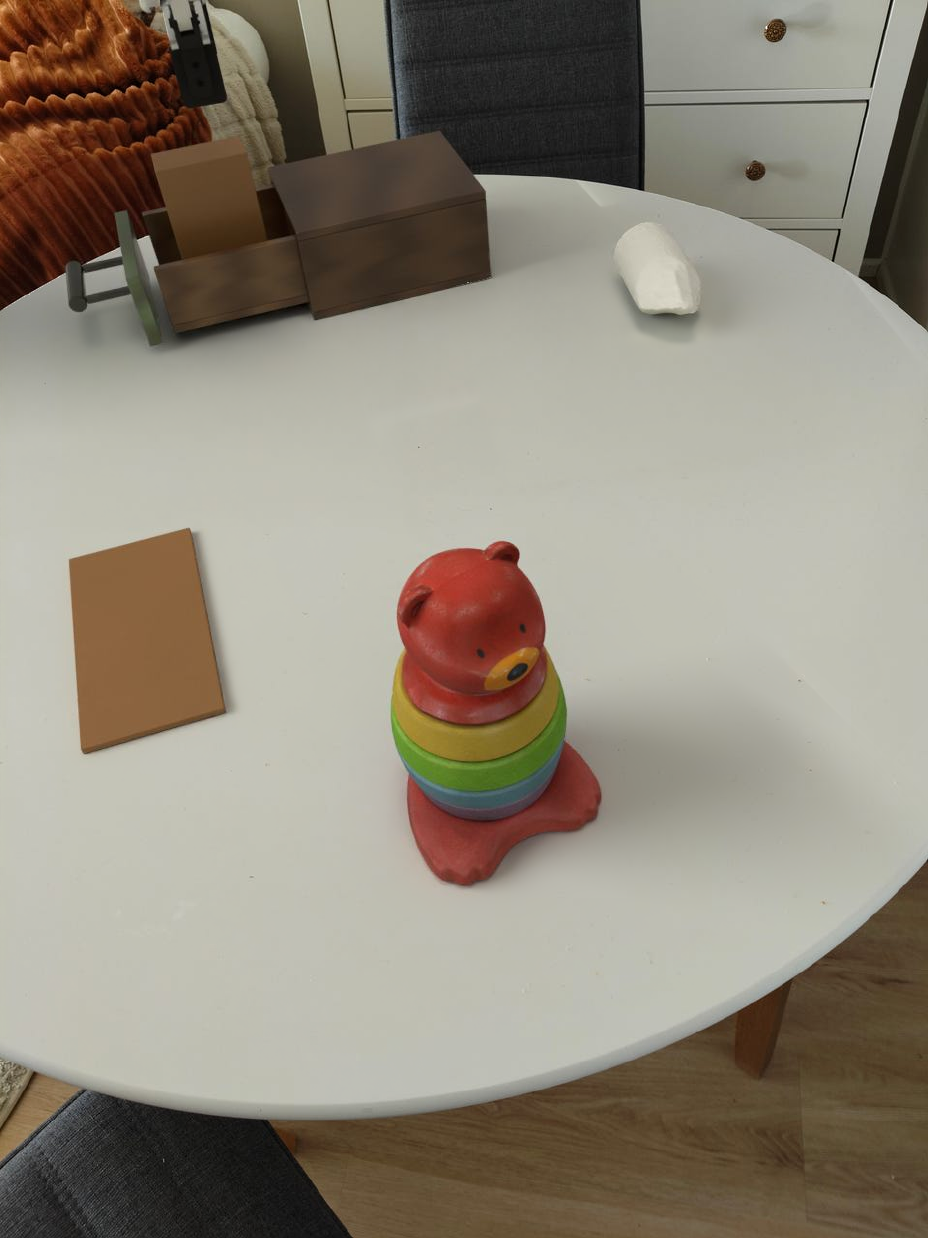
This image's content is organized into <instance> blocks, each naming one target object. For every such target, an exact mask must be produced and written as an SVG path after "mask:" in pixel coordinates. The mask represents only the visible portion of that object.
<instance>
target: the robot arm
mask: <svg viewBox="0 0 928 1238" xmlns="http://www.w3.org/2000/svg"><path fill="white" fill-rule="evenodd" d="M207 2H208V0H138V3H139V6H140V9H141V10H142V11H143V12H144V13H146V14H152V13H153V12H152V8H156V7H157V8H158V7H159V5H160V9H161V12H162V16H163V20H164V24H165V28H166V33H167V37H168V41H169V44H170V46H169V47H167V49H168V52H169V56H170V59H171V63H172V64H171V65H172V67H173V71H174V75H175V78H176V82H177V86H178V90H179V94H180V96H181V101H182V104H183V106H184V107H185V108H186V109H196V108H199V107H200V108H201V107H208V106H212V105H218V104H224V103H225V102H227V100H228V95H227V90H226V86H225V82H224V77H223V74H222V69H221V65H220V60H219V56H218V49H217V45H216V40H215V36H214V31H213V28H212V24H211V20H210V15H209V11H208V7H207Z"/></svg>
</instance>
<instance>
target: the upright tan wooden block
mask: <svg viewBox="0 0 928 1238" xmlns="http://www.w3.org/2000/svg"><path fill="white" fill-rule="evenodd" d="M150 157H151V161H152V165H153V169H154V173H155V177H156V180H157V182H158V186H159V189H160V192H161V195H162V199H163V202H164V206H165V207H166V209H167V212H168V215H169V218H170V222H171V225H172V228H173V231H174V234H175V238H176V241H177V244H178V247H179V251H180V254H181V257H182V260H185V259H189V258H194V257H198V256H202V255H207V254H211V253H216V252H220V251H225V250H229V249H234V248H238V247H243V246H247V245H251V244H256V243H260V242H265V241H268V240H267V235H266V231H265V227H264V223H263V219H262V214H261V210H260V206H259V202H258V198H257V193H256V189H255V188H256V185H255V181H254V177H253V172H252V169H251V165H250V164H251V163H250V161H249V155H248V152H247V149H246V147H245V145H244V143H243V140H242V138H241V136H240V135H235V136H231V137H225V138H221V139H217V140H211V141H206V142H202V143H201V142H200V143H197V144H192V145H188V146H183V147H178V148H173V149H168V150H163V151H159V152H154V153H151V154H150Z"/></svg>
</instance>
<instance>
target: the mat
mask: <svg viewBox="0 0 928 1238" xmlns="http://www.w3.org/2000/svg"><path fill="white" fill-rule="evenodd" d="M68 570H69V571H68V572H69V584H70V600H71V602H70V603H71V616H72V631H73V632H72V633H73V645H74V647H73V648H74V663H75V679H76V695H77V708H78V709H77V710H78V727H79V741H80V742H79V744H80V751H81V753H83V754H84V755H85V754H87V753H92V752H95V751H98V750H102V749H105V748H108V747H109V748H110V747H112V746H115V745H119V744H122V743H126V742H128V741H132V740H136V739H140V738H143V737H145V736H150V735H152V734H156V733H160V732H163V731H166V730H169V729H173V728H177V727H180V726H183V725H184V726H185V725H187V724H190V723H193V722H197V721H201V720H204V719H207V718H211V717H214V716H217V715H221V714H224V713H226V712H227V709H226V705H225V700H224V694H223V689H222V684H221V683H222V682H221V679H220V674H219V669H218V664H217V663H218V662H217V658H216V657H217V656H216V653H215V647H214V643H213V637H212V633H211V627H210V622H209V617H208V616H209V615H208V612H207V606H206V600H205V595H204V591H203V586H202V581H201V575H200V570H199V565H198V560H197V555H196V550H195V544H194V538H193V534H192V530H191V528H190V527H185V528H182V529H178V530H175V531H170V532H166V533H163V534H159V535H155V536H152V537H147V538H144V539H140V540H136V541H132V542H129V543H125V544H121V545H118V546H114V547H110V548H106V549H103V550H98V551H95V552H91V553H87V554H84V555H80V556H76V557H73V558H69V559H68Z"/></svg>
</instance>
